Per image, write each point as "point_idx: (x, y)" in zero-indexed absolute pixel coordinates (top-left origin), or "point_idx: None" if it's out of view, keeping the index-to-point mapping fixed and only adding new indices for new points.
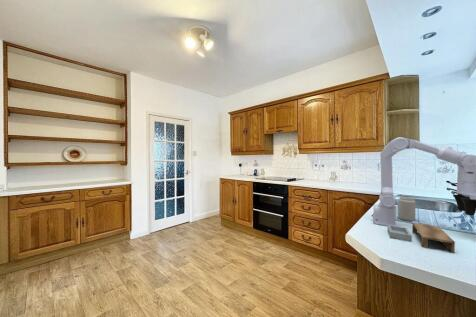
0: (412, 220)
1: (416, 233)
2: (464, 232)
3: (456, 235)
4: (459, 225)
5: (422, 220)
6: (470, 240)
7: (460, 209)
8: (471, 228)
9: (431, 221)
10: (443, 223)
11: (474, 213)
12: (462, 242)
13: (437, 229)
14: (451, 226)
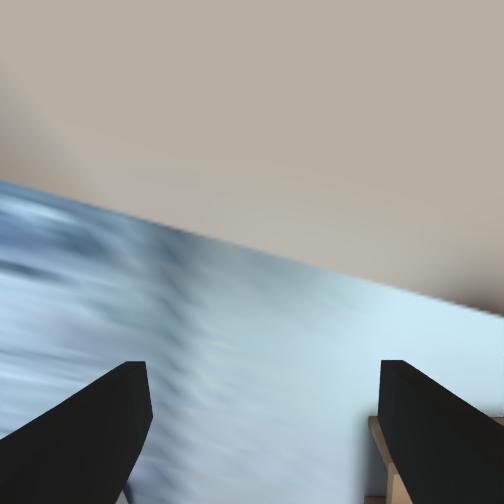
0: None
1: (385, 500)
2: (183, 262)
3: (291, 325)
4: (5, 241)
5: None
6: (357, 282)
7: (142, 421)
8: (33, 188)
9: (31, 377)
10: (29, 323)
11: (426, 376)
12: (426, 334)
13: None
14: (76, 296)
